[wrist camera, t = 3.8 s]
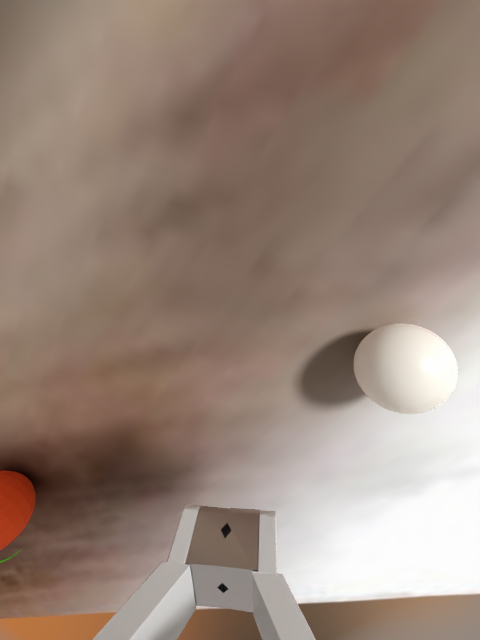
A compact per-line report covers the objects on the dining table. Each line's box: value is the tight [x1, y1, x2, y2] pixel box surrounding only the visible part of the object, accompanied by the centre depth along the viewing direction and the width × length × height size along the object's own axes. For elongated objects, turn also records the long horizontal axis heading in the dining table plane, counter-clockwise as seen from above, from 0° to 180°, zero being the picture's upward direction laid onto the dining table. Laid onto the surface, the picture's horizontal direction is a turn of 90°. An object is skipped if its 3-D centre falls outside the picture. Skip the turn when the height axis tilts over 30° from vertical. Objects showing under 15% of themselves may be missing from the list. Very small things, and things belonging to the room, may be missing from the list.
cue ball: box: [353, 323, 458, 414], centre depth 17 cm, size 6×6×6 cm
